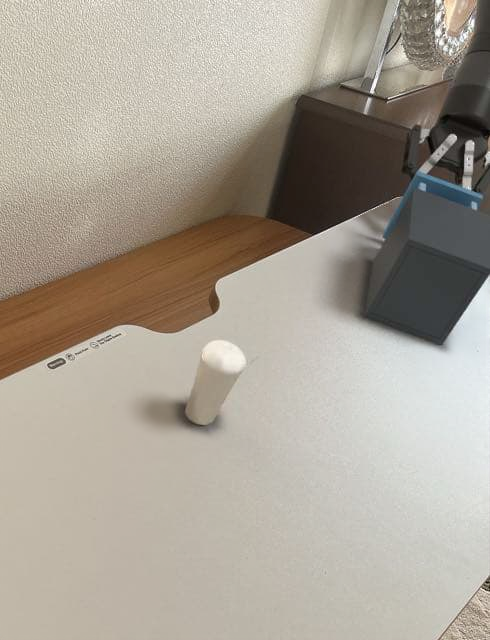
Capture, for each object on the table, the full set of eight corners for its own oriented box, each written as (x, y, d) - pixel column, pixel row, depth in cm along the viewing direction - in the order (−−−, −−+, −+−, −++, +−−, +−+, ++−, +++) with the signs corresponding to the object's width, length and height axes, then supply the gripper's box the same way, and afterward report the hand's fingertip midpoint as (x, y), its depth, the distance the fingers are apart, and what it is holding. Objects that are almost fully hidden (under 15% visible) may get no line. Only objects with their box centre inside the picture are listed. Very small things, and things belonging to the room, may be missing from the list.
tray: (384, 220, 129) (418, 157, 122) (445, 243, 129) (482, 181, 122) (376, 279, 119) (412, 214, 111) (442, 303, 118) (483, 240, 111)
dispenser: (372, 263, 123) (413, 186, 114) (444, 290, 122) (491, 215, 114) (364, 316, 114) (408, 238, 105) (441, 345, 114) (493, 269, 105)
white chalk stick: (214, 440, 93) (247, 368, 85) (171, 414, 94) (201, 341, 86) (232, 419, 96) (267, 347, 88) (190, 394, 97) (221, 321, 89)
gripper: (436, 66, 120) (389, 186, 121) (536, 103, 120) (488, 223, 121) (417, 91, 127) (373, 204, 128) (511, 126, 127) (466, 239, 128)
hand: (429, 213), depth 124 cm, fingers closed on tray, 5 cm apart
